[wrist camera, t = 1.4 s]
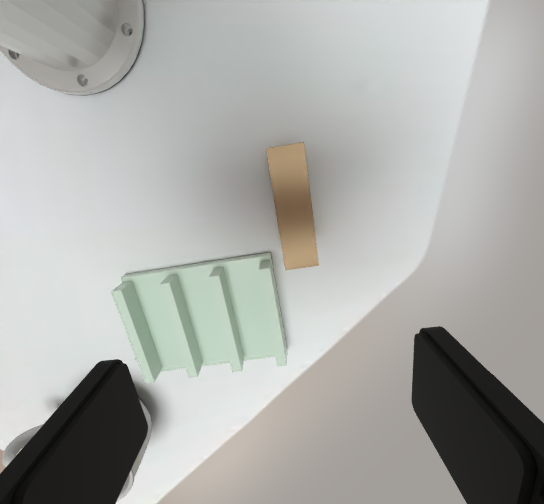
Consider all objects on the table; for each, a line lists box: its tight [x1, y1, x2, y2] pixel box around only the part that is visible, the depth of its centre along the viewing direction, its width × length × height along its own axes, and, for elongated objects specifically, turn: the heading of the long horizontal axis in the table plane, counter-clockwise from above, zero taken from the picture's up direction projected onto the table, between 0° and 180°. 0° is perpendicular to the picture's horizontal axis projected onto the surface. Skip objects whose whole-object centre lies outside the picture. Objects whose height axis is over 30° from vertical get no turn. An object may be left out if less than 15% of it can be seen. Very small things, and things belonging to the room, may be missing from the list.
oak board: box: [266, 142, 319, 270], centre depth 23 cm, size 9×3×7 cm, turn 9°
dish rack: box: [111, 252, 288, 383], centre depth 29 cm, size 12×16×3 cm
